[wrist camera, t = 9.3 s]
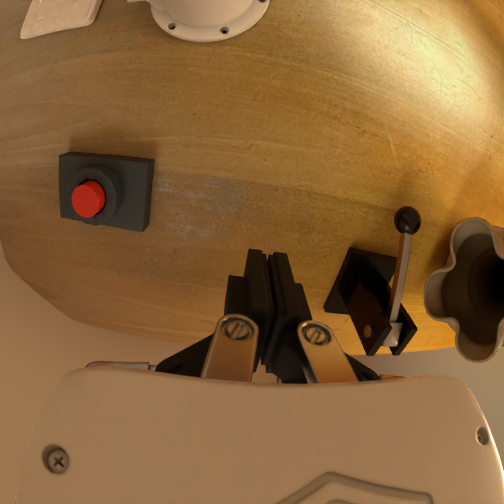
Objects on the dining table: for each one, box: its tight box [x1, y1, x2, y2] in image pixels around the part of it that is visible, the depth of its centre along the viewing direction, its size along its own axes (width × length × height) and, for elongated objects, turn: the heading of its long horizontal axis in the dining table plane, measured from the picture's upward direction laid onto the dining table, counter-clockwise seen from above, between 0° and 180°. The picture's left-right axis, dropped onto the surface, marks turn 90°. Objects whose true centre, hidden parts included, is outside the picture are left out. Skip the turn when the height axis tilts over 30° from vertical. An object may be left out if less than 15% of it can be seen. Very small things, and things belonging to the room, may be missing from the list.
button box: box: [59, 152, 155, 232], centre depth 27 cm, size 12×8×4 cm, turn 78°
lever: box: [381, 206, 421, 346], centre depth 27 cm, size 16×3×3 cm, turn 167°
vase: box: [424, 217, 504, 363], centre depth 29 cm, size 22×22×28 cm
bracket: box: [323, 247, 418, 356], centre depth 31 cm, size 10×8×12 cm
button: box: [72, 181, 106, 217], centre depth 24 cm, size 4×4×2 cm
